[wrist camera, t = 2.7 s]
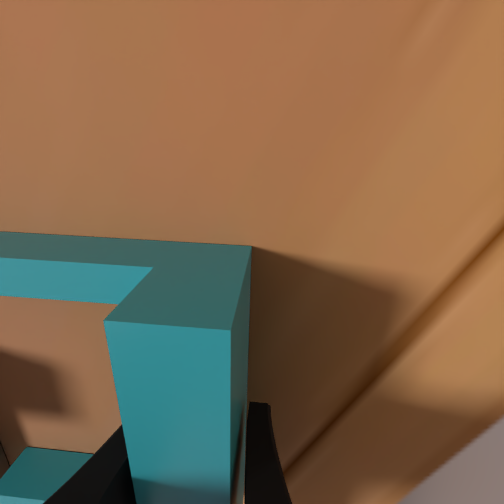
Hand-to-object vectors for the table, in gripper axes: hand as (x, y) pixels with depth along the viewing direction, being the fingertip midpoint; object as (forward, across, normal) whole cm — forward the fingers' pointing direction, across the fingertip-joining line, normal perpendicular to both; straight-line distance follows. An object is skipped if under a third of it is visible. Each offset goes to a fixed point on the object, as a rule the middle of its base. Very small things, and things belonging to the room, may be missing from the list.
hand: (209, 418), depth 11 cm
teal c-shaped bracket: (+1, +4, 0) cm, 4 cm away
